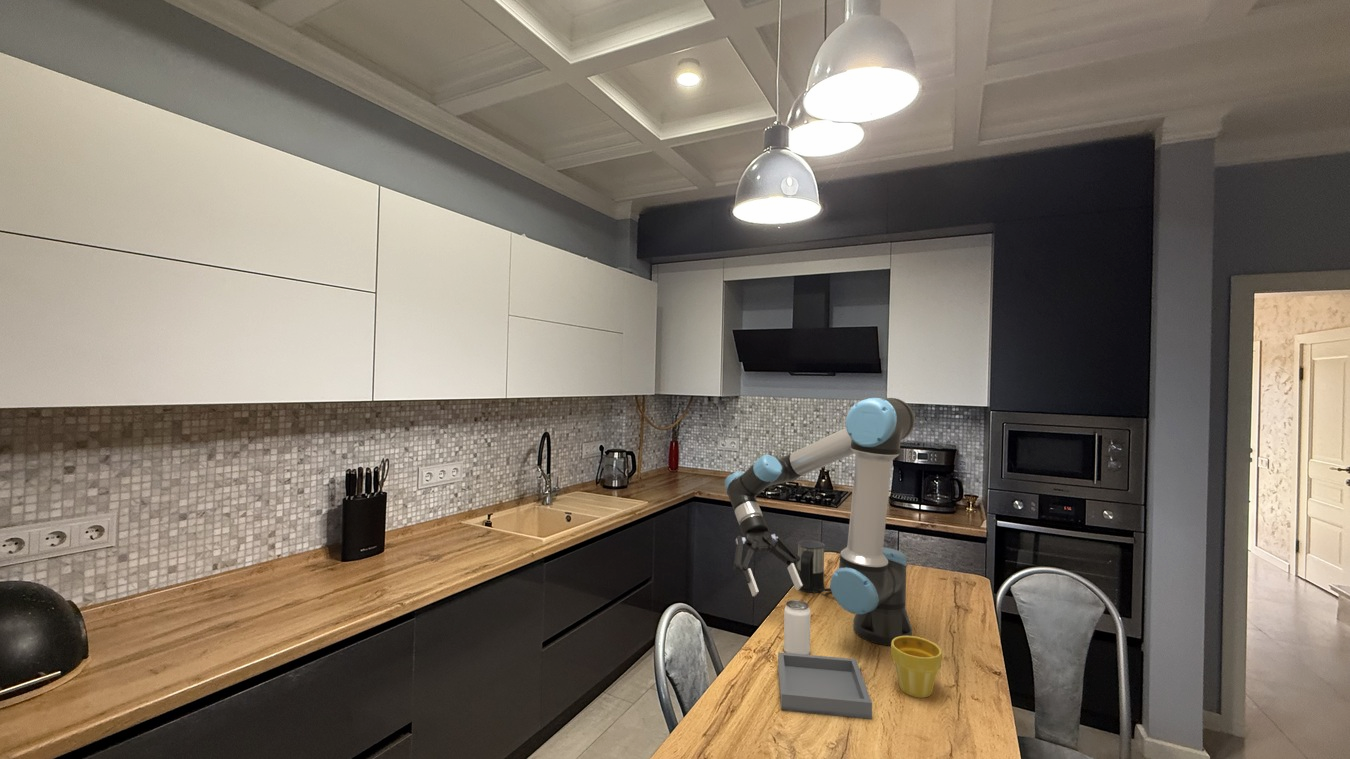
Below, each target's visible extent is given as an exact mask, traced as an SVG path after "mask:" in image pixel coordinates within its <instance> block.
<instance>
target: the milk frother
mask: <svg viewBox="0 0 1350 759" xmlns="http://www.w3.org/2000/svg"><path fill="white" fill-rule="evenodd" d="M796 544H797V555H798V556H799V557H800V560H799V562H798V563H797V567H798V570H799V572H800V575H799V577H800V580H801V582H802V585H803V586H802V587H801V588H800V589H799V590H800V591H803V592H807V593H822V592H829V593H832V591H831V588H826V587H825V584H824V583H825V581H824V580H825V579H824V578H825V577H824V575H825V574H824V573H825V571H824V570H825V569H824V567H825V547H826V545H825V543H823V542H822V541H816V540H809V539H806V540H805V539H804V540H803V539H802V540H799V541H797V542H796Z"/></svg>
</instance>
